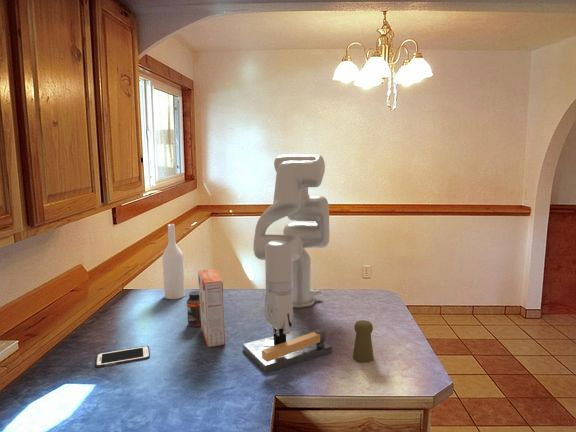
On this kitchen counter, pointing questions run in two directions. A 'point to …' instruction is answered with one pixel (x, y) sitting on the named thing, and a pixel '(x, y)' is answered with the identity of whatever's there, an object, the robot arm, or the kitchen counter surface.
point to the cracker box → (211, 307)
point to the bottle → (173, 268)
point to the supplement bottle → (194, 309)
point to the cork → (363, 342)
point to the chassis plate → (295, 357)
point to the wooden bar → (294, 345)
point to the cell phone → (122, 356)
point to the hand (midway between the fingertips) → (280, 346)
